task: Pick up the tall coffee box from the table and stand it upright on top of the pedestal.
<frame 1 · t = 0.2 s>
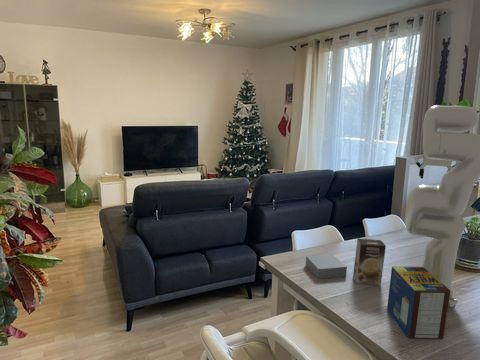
hand: (434, 179, 145), 37 cm above the table, tool pointing down, fingers open, 9 cm apart
protein box: (412, 323, 108), on the table
pedestal: (325, 270, 142), on the table
coffee box: (366, 281, 134), on the table
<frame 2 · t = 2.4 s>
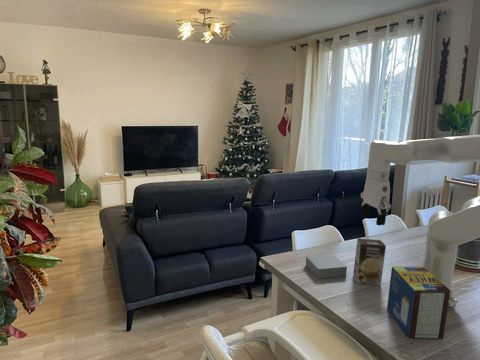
hand: (372, 220, 129), 24 cm above the table, tool pointing down, fingers open, 9 cm apart
nothing on the table moved.
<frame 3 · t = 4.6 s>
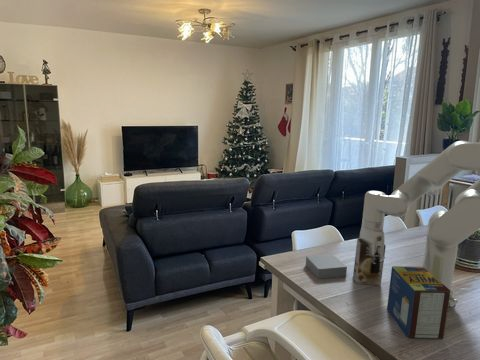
hand: (368, 267, 133), 6 cm above the table, tool pointing down, fingers closed on coffee box, 7 cm apart
coffee box: (366, 281, 134), on the table, touching gripper
everything else where it was.
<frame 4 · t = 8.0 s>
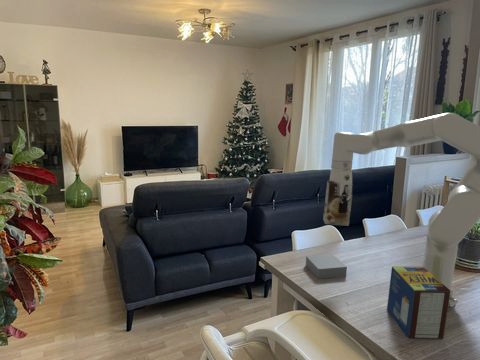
hand: (337, 209, 135), 26 cm above the table, tool pointing down, fingers closed on coffee box, 7 cm apart
coffee box: (335, 223, 137), point 21 cm above the table, touching gripper
everything else where it was.
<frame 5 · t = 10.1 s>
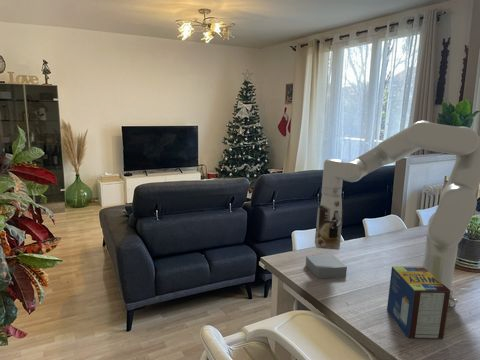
hand: (328, 233, 139), 16 cm above the table, tool pointing down, fingers closed on coffee box, 7 cm apart
coffee box: (326, 246, 140), point 10 cm above the table, touching gripper
everything else where it was.
when the fingers open (11 cm above the table, at t = 11.7 s): coffee box drops 1 cm, resting on pedestal.
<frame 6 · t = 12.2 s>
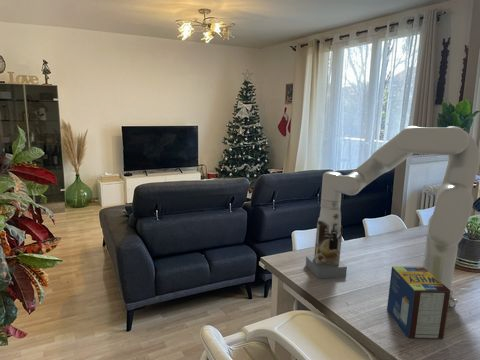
hand: (327, 244, 140), 11 cm above the table, tool pointing down, fingers open, 9 cm apart
coffee box: (326, 261, 141), point 4 cm above the table, touching pedestal
everything else where it was.
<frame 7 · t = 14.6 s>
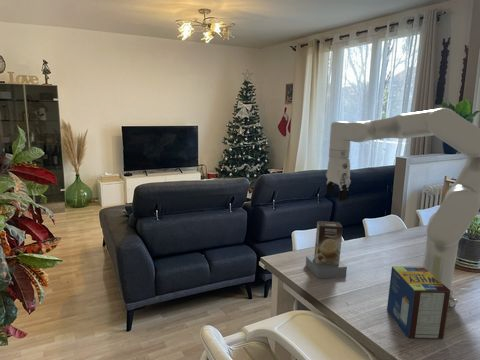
hand: (336, 197, 137), 31 cm above the table, tool pointing down, fingers open, 9 cm apart
nothing on the table moved.
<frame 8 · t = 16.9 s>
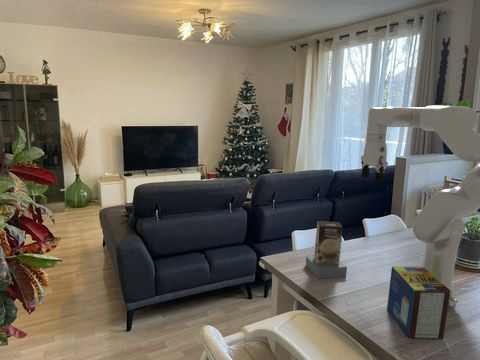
hand: (371, 179, 145), 36 cm above the table, tool pointing down, fingers open, 9 cm apart
nothing on the table moved.
at the end: coffee box inside the target area on the pedestal (0.2 cm from its centre), point 3.8 cm above the pedestal's base; coffee box tilted 0°; coffee box touching pedestal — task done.
